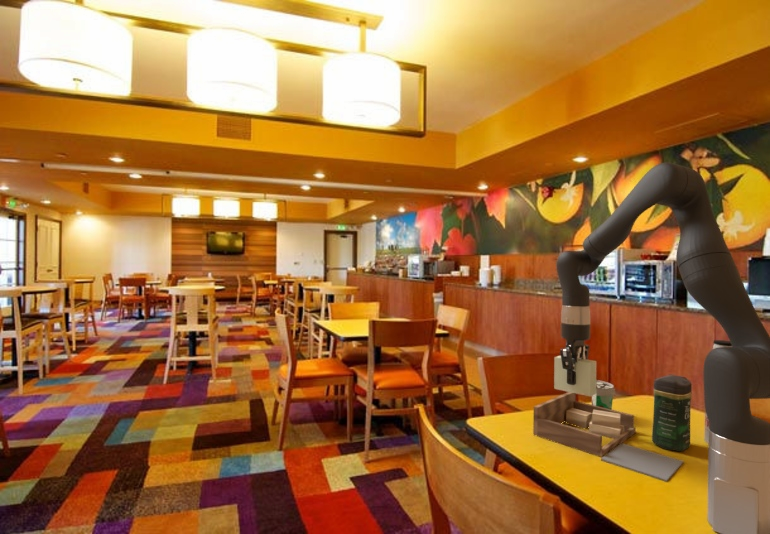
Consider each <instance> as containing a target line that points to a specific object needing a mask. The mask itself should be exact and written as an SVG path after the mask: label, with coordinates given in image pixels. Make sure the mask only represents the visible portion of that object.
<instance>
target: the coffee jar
mask: <svg viewBox="0 0 770 534" xmlns="http://www.w3.org/2000/svg"><path fill="white" fill-rule="evenodd" d="M692 385H693V384H692V382H691V381H690V380H689V379H688V378H687V377H685V376H682V375H676V374H669V375H665V376H661V377H658V378H655V379H654V382H653V416H652V417H653V419H652V431H651V433H652V435H651V441H652V443H653V444H655V445H657V446H658V447H660V448H662V449H664V450H669V451H670V450H671V451H677V452H682V451H684V450H687V449H689V447H690V445H691V410H692V409H691V406H692V405H691V404H692V394H693V393H692Z"/></svg>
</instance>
